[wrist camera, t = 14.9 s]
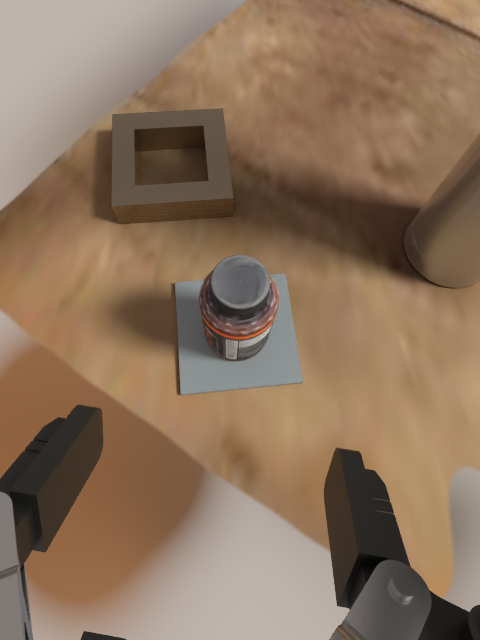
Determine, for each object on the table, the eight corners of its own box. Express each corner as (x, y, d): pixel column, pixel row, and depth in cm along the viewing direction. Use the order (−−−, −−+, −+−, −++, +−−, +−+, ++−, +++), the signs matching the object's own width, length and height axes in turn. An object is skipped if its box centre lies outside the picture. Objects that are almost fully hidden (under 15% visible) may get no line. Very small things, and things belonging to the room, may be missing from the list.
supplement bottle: (197, 312, 36) (185, 251, 26) (257, 296, 37) (269, 231, 26) (214, 371, 34) (208, 332, 24) (276, 353, 35) (297, 307, 24)
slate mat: (284, 275, 38) (285, 273, 38) (302, 383, 35) (303, 382, 34) (175, 284, 38) (175, 282, 37) (181, 395, 34) (180, 394, 33)
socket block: (223, 130, 45) (222, 108, 42) (233, 216, 41) (233, 197, 38) (119, 136, 44) (112, 114, 41) (119, 224, 40) (111, 206, 37)
